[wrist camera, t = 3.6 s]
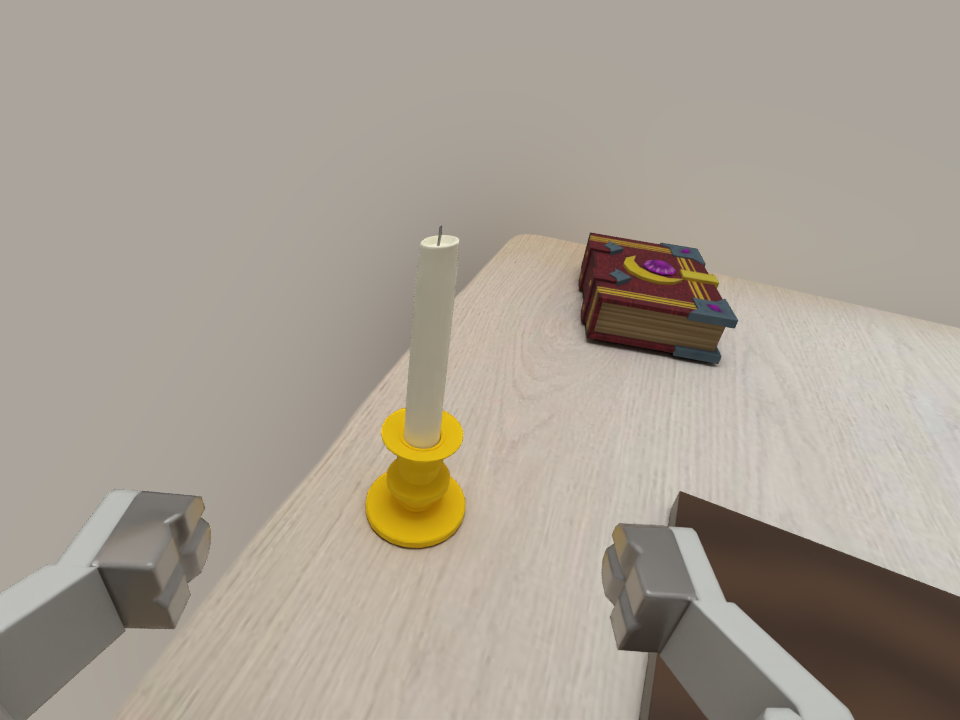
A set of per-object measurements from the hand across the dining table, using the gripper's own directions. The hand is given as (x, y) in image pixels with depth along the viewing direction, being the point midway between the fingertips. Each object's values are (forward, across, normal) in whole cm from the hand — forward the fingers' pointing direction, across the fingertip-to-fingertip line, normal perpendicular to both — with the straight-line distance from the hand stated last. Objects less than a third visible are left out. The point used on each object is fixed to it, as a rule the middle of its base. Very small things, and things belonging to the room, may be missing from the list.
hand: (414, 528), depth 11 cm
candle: (+12, 0, +14) cm, 19 cm away
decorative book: (+38, -19, +14) cm, 44 cm away
